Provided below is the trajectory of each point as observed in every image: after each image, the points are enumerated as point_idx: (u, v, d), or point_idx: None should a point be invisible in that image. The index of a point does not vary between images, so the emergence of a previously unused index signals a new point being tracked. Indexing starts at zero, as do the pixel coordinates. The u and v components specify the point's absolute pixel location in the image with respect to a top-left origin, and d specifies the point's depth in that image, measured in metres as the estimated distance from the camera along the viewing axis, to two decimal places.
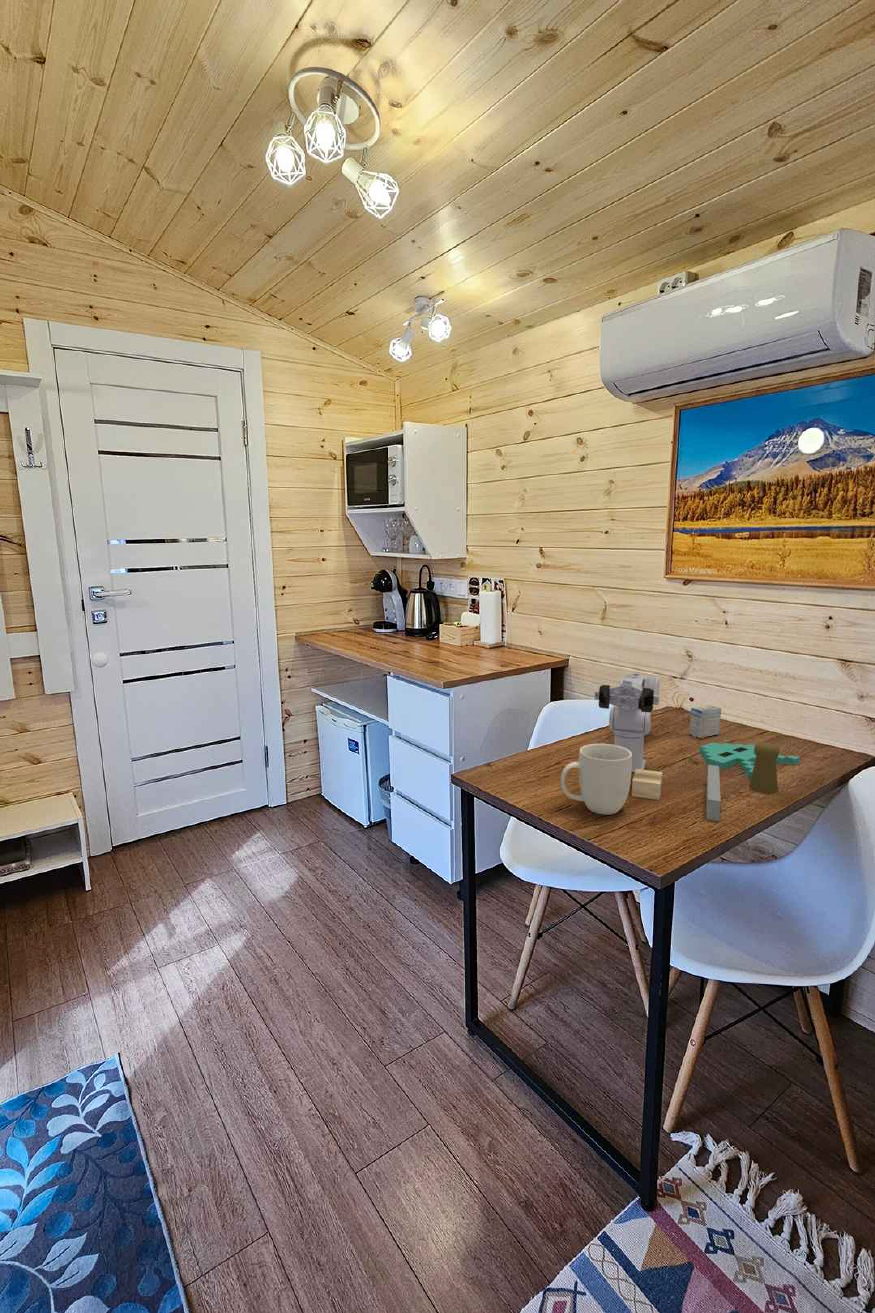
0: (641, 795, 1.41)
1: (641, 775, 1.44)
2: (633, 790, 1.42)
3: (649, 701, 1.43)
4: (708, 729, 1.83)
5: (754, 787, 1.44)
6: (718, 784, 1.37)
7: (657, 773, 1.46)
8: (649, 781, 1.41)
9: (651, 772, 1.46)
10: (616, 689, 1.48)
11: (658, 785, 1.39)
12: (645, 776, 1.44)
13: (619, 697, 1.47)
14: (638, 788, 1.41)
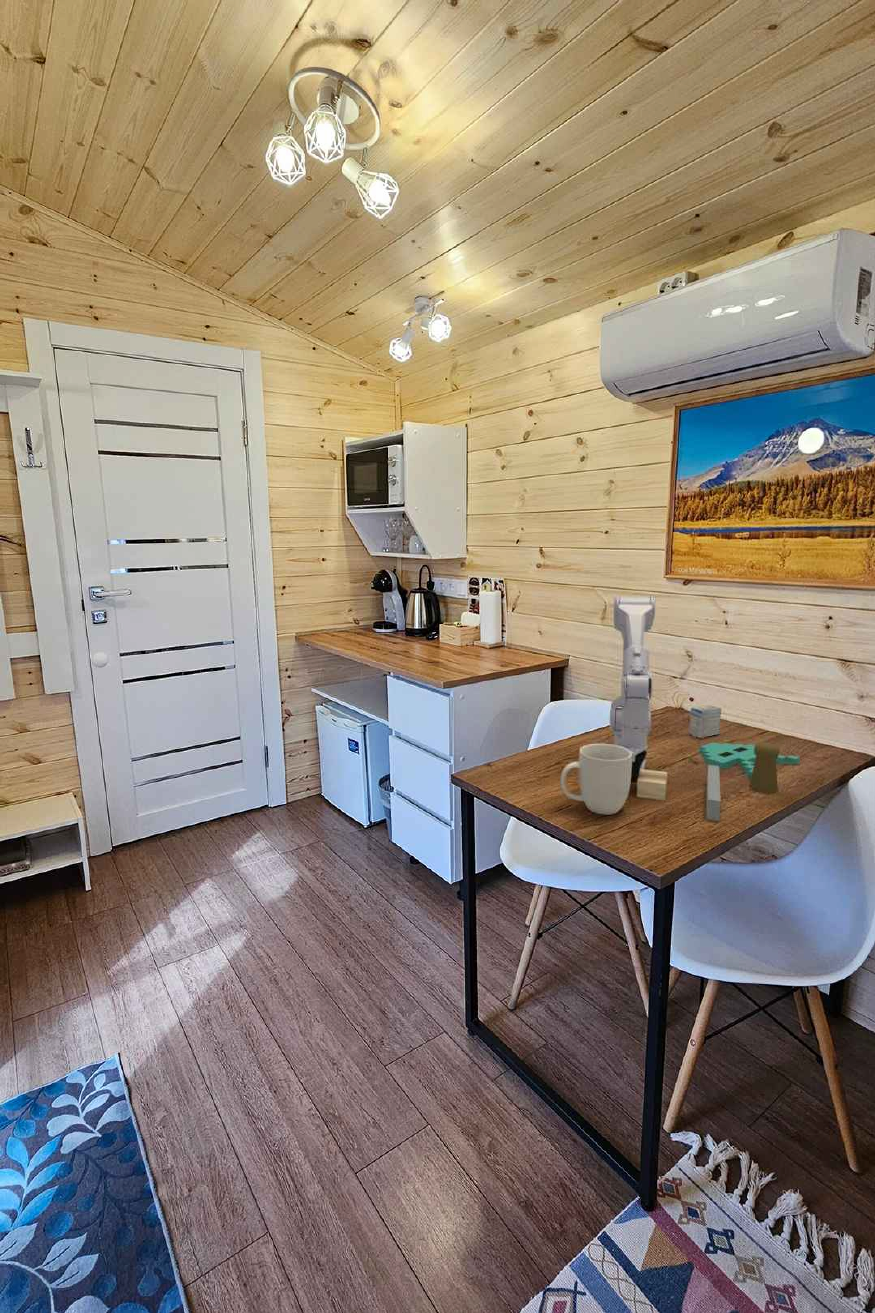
0: (646, 795, 1.41)
1: (646, 775, 1.44)
2: (638, 790, 1.41)
3: None
4: (708, 729, 1.83)
5: (754, 787, 1.44)
6: (718, 784, 1.37)
7: (662, 773, 1.45)
8: (654, 781, 1.40)
9: (656, 772, 1.46)
10: None
11: (663, 785, 1.39)
12: (650, 776, 1.43)
13: None
14: (643, 788, 1.41)
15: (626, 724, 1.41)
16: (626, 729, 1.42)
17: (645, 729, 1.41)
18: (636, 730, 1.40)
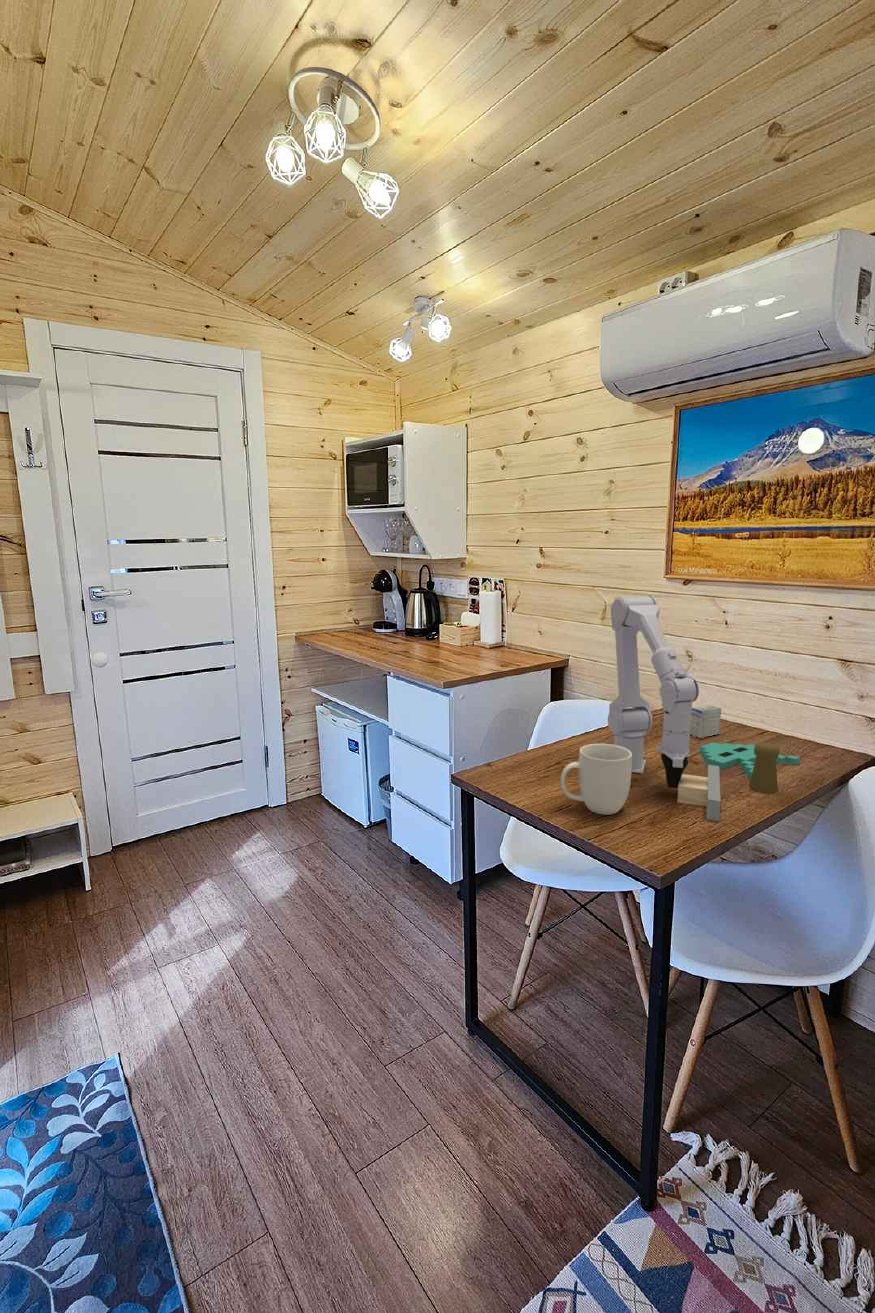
0: (687, 801, 1.37)
1: (687, 781, 1.41)
2: (679, 796, 1.38)
3: None
4: (708, 729, 1.83)
5: (754, 787, 1.44)
6: (718, 784, 1.37)
7: (702, 778, 1.42)
8: (695, 786, 1.37)
9: (696, 777, 1.43)
10: None
11: (705, 791, 1.36)
12: (690, 781, 1.40)
13: None
14: (684, 794, 1.38)
15: (674, 730, 1.37)
16: (669, 734, 1.38)
17: (688, 733, 1.38)
18: (680, 735, 1.37)
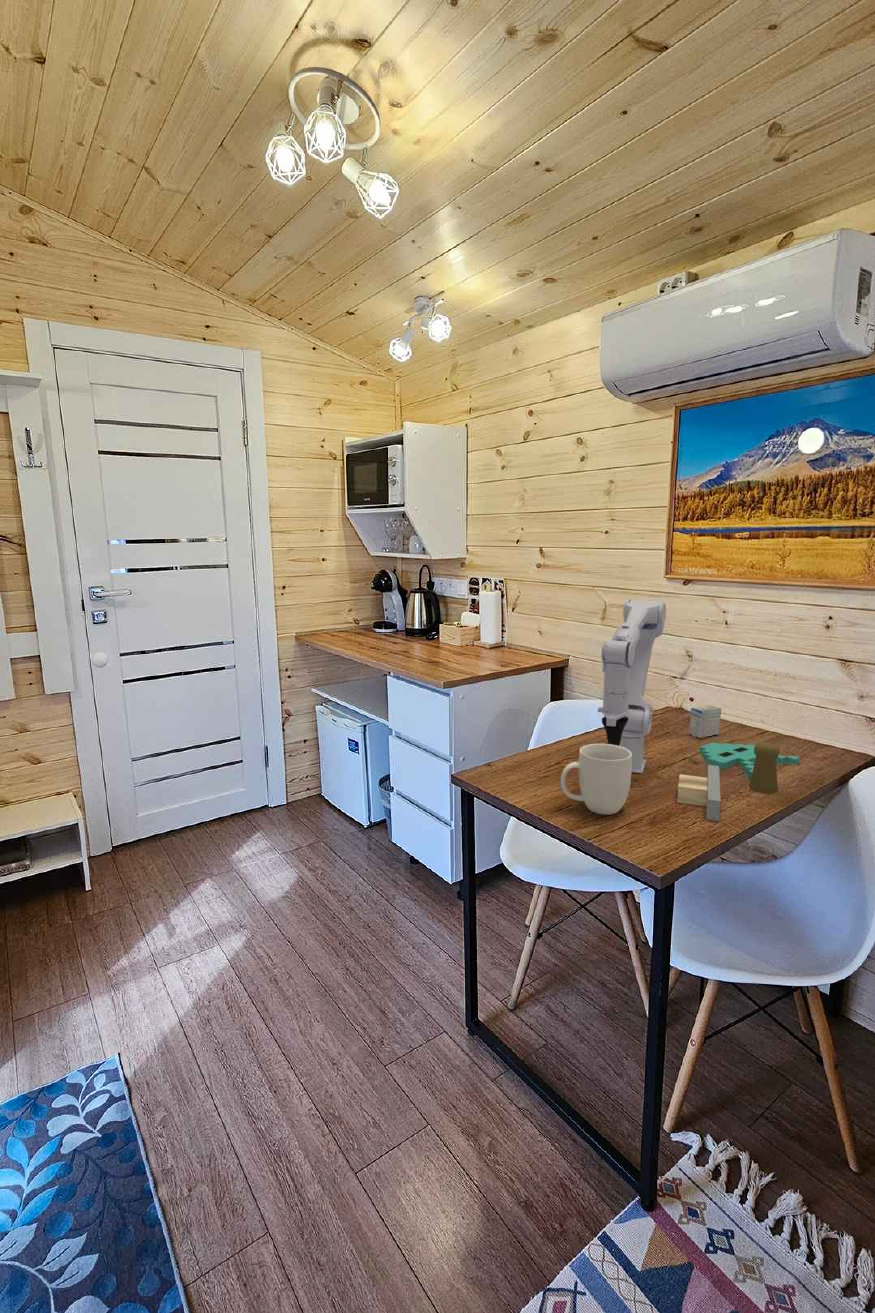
0: (687, 801, 1.38)
1: (686, 781, 1.41)
2: (679, 796, 1.38)
3: None
4: (708, 729, 1.83)
5: (754, 787, 1.44)
6: (718, 784, 1.37)
7: (702, 779, 1.42)
8: (695, 787, 1.37)
9: (696, 778, 1.43)
10: None
11: (705, 791, 1.36)
12: (690, 782, 1.40)
13: None
14: (684, 794, 1.38)
15: (605, 689, 1.44)
16: (607, 695, 1.43)
17: (626, 695, 1.42)
18: (617, 695, 1.42)
